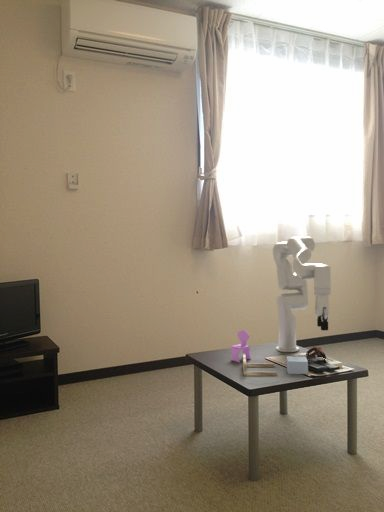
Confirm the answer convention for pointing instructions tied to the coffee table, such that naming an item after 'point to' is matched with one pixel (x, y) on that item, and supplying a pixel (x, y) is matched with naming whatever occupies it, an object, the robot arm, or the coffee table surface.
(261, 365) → the wooden rack
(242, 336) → the toy chair
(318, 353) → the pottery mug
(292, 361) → the carton
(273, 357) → the coffee table surface
